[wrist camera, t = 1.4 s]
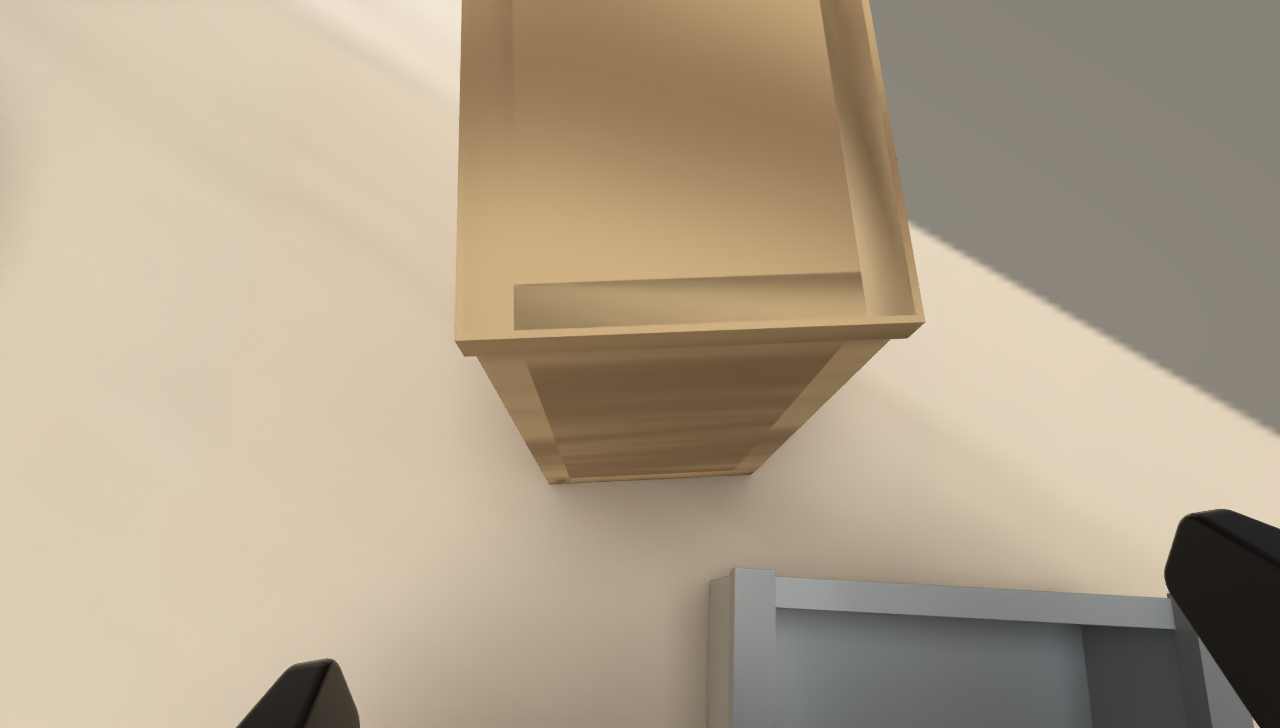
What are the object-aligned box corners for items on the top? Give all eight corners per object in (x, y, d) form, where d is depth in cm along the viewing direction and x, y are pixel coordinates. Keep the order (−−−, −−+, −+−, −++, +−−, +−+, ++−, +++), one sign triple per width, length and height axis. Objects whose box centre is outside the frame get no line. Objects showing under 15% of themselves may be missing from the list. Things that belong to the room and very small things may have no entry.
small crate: (755, 477, 21) (925, 322, 9) (545, 488, 21) (454, 341, 9) (736, 284, 22) (860, -48, 11) (542, 292, 22) (463, -39, 11)
